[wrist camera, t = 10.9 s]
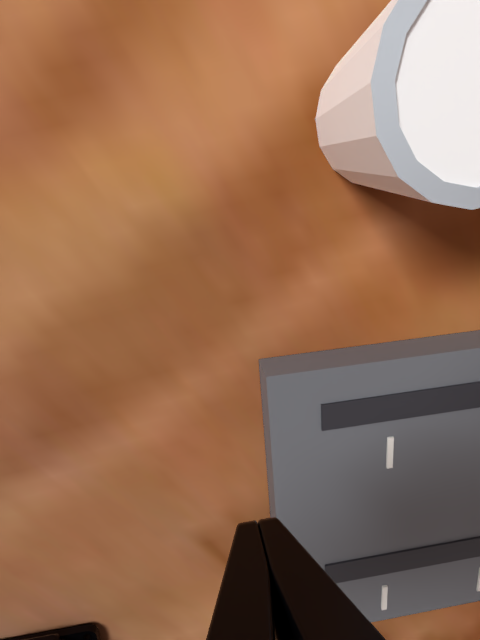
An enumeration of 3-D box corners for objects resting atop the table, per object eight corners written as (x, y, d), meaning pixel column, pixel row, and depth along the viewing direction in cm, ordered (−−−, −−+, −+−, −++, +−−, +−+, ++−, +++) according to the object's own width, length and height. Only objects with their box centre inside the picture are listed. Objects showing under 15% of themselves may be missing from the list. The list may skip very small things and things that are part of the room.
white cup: (463, 25, 17) (638, -73, 11) (443, 197, 19) (578, 205, 13) (302, 23, 16) (382, -83, 10) (300, 203, 19) (364, 215, 12)
